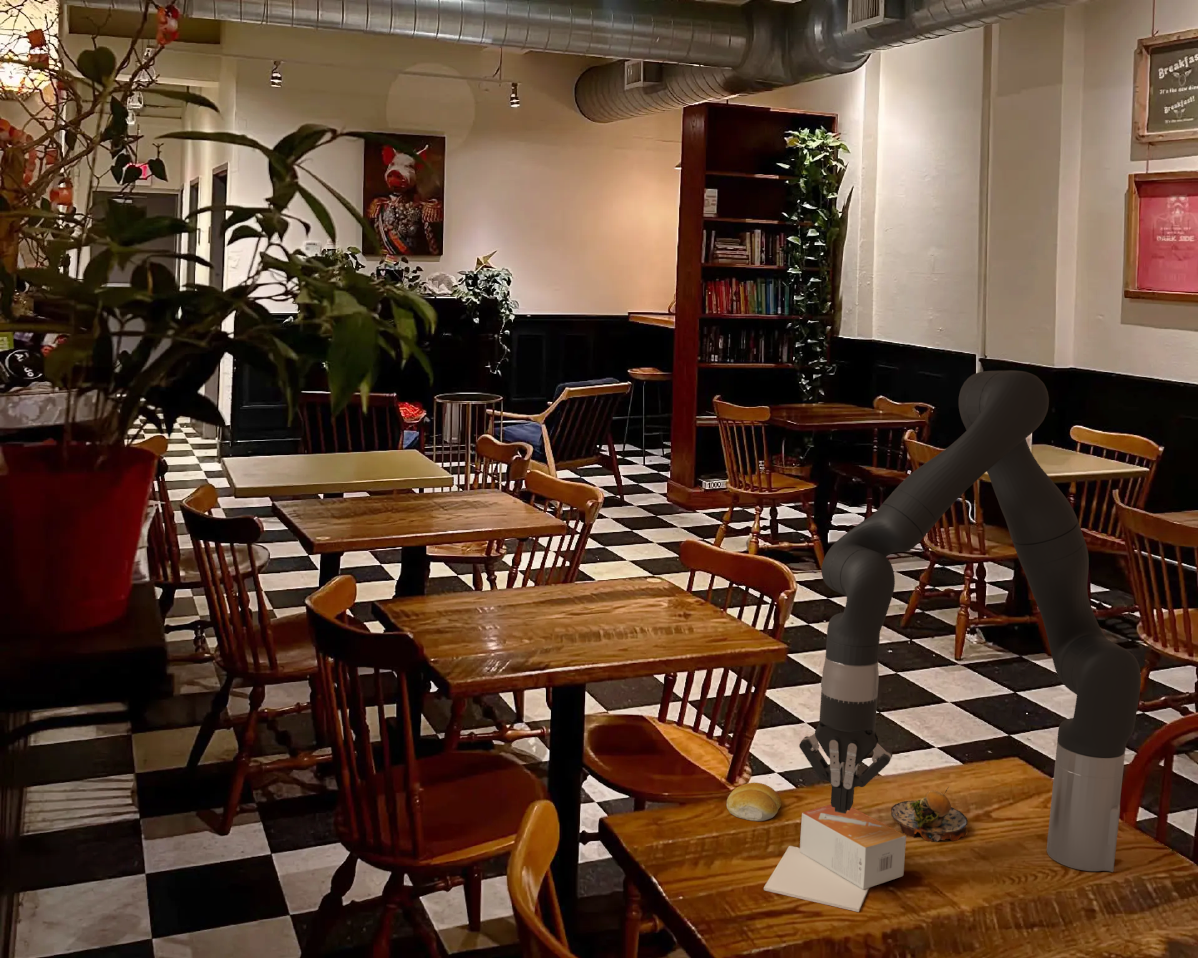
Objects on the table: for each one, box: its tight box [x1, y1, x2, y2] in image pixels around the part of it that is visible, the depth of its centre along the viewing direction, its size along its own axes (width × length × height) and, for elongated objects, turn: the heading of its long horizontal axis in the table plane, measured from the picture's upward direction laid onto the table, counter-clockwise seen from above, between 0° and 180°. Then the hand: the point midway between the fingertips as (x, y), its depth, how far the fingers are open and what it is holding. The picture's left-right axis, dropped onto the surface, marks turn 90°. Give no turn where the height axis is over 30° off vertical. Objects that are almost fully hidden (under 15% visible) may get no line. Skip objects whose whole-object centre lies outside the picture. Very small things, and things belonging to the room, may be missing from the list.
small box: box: [799, 804, 907, 889], centre depth 170 cm, size 8×6×13 cm
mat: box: [763, 845, 870, 913], centre depth 167 cm, size 13×14×1 cm
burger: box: [890, 787, 968, 843], centre depth 185 cm, size 12×12×8 cm
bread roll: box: [726, 782, 782, 822], centre depth 189 cm, size 8×9×4 cm
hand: (841, 810), depth 165 cm, fingers closed
